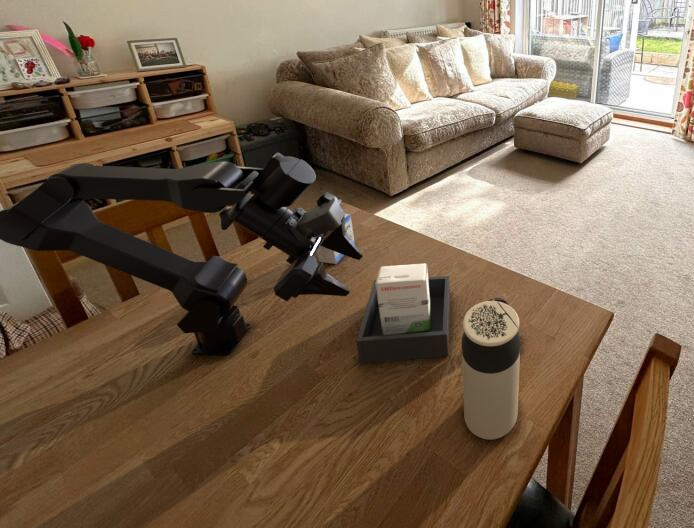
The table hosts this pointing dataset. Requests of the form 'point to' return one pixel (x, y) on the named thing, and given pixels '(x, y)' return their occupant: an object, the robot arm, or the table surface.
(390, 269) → the ink box
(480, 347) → the travel mug
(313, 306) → the table surface
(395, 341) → the open storage tray
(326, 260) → the medicine box
